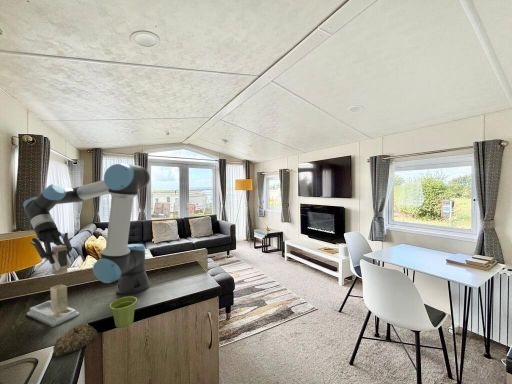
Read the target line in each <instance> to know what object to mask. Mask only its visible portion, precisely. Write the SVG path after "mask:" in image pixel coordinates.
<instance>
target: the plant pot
mask: <svg viewBox="0 0 512 384" xmlns="http://www.w3.org/2000/svg"><path fill="white" fill-rule="evenodd" d="M137 302H138V297H135V296H123V297H120V298H117V299H115V300H113V301H112V302H111V303H110V304H109V309H110V310H111V312H112V315H113V321H114V324H115V325H114V326H115V327H116V328H118V329H124V328H126V327H128V326H130V325H132V324H133V323H134V319H135V318H134V317H135V310H136V309H135V307H136V304H137Z"/></svg>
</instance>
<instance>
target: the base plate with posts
mask: <svg viewBox="0 0 512 384" xmlns="http://www.w3.org/2000/svg"><path fill="white" fill-rule="evenodd" d="M26 315H27V316H28V317H31V319H32V318H33V319H34V320H37V321H39V322H41V323H44V324H45V325H48V326H50V327H52V328H54V327H56V326H58V325H61V324H63V323H64V322H67V321H69V320H70V319H73V318H75V317H77V316H79V315H80V311H77V309H74V308H72V307H69V306H68V286H67V285H65V284H62V283H60V284H57V285H54V286H51V287H50V300H46V301H45V302H42V303H40V304H37V305H34V306H32V307H30V308H29V311H27V312H26Z"/></svg>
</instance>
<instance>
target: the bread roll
mask: <svg viewBox="0 0 512 384" xmlns="http://www.w3.org/2000/svg"><path fill="white" fill-rule="evenodd" d="M98 338H99V332H98V331H97V330H96V329H95V328H94V326H92V325H91V324H79V325H77V326H74V327H72V328H71V329H70V330H68V331H66V332H65V333H64V334H63V335H62V336H60V337H58V338H56V340H55V343H53V344H54V345H53V351H52V353H51V354H52V355H53V356H54V357H59V356H63V355H67V353H68V354H70V353H73V352H76V351H78V350H81V349H83V348H85V347H87V346H90V345H91V344H93V343H95V342H96V341H97V340H98Z"/></svg>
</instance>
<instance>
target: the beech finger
mask: <svg viewBox="0 0 512 384" xmlns="http://www.w3.org/2000/svg"><path fill="white" fill-rule="evenodd" d="M64 245H65V244H64ZM64 245H59V246H57V245H55V246H51V250H52V256H53V255H55V256H56V258H57V260H58V262H59V264H60V266H61V267H60V268H59V270H57V271H56V269H55V267H54V265H53V264H51V265H52V266H51V267H52V274H53V275H55V276H60V275H64V274H67V273H68V267H67V246H64Z"/></svg>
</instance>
